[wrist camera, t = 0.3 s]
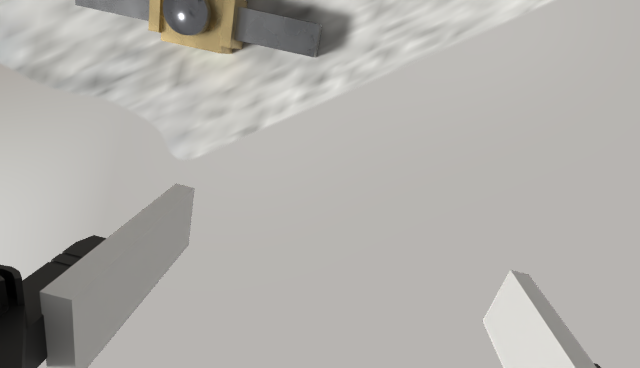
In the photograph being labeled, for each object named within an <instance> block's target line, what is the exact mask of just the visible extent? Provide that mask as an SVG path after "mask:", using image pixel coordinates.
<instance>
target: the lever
mask: <svg viewBox="0 0 640 368" xmlns="http://www.w3.org/2000/svg"><path fill="white" fill-rule="evenodd" d="M163 14H164V17H165V20H166V22H167V23H168V25H169V26H170V27H171V28H172V29H173V30H174V31H175V32H177V33H179V34H182V35H188V36H197V35H200V34H202V33H203V32H204V31H205V30H206V29H207V28H208V26H209V24H210V21H211V10H210V6H209V3H208V1H207V0H164V2H163Z"/></svg>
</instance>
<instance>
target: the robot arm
mask: <svg viewBox="0 0 640 368" xmlns="http://www.w3.org/2000/svg"><path fill="white" fill-rule="evenodd" d="M193 197H194V188H191V187H187V186H183V185H180V184H175V185H174V186H172V187H171V188H170V189H168V190H167V191H166V192H165V193H163V194H162V195H161V196H160V197H158V198H157V199H156V200H155V201H153V202H152V203H151V204H150V205H148V206H147V207H146V208H145V209H143V210H142V211H141V212H139V213H138V214H137V215H136V216H135V217H133V218H132V219H131V220H129V221H128V222H127V223H126V224H124V225H123V226H122V227H121V228H119V229H118V230H117V231H116V232H114V233H113V234H112V235H110V236H109V237H108V238H107V239H106V238H103V237H99V236H95V235H94V236H91V237H88V238H86V239H83V240H80V241H78V242H76V243H74V244H73V245H71V246H70V247H69V248H67V249H66V250H65V251H63V253H62V254H59V255H58V256H56V257H55V258H53V259H52V260H51V262H48V263H46V264H45V265H44V266H43V267H41V268H40V269H38V270H37V271H35V272H34V273H33V274H32V275H30V276H28V277H27V278H26V279H24V280H23V281H22V277H21V274H20V272H19V271H18V270H16V269H15V268H13V267H10V266H4V265H0V368H37V367H38V366H39V365H40V364H41V363H42V362H43V361H44V360H45V359H46V361H47V368H88V366H89V365H90V364H91V363H92V362H93V360H94V359H95V358H96V357H97V356H98V354H99V353H100V352H101V351H102V349H103V348H104V347H105V345H106V344H107V343H108V342H109V341H110V340H111V338H112V337H113V336H114V335H115V334H116V332H117V331H118V330H119V329H120V327H121V326H122V325H123V324H124V323H125V321H126V320H127V319H128V318H129V316H130V315H131V314H132V313H133V312H134V310H135V309H136V308H137V307H138V306H139V304H140V303H141V302H142V301H143V300H144V298H145V297H146V296H147V295H148V294H149V292H150V291H151V290H152V289H153V287H154V286H155V285H156V284H157V283H158V281H159V280H160V279H161V277H162V276H163V275H164V274H165V273H166V272H167V270H168V269H169V268H170V267H171V265H172V264H173V263H174V262H175V261H176V259H177V258H178V257H179V256H180V255H181V253H182V252H183V251H184V250H185V248H186V247H187V246H188V244H189V235H190V225H191V216H192V206H193ZM483 323H484V325H485V328H486V330H487V332H488V334H489V337H490V339H491V341H492V343H493V346H494V348H495V350H496V352H497V355H498V357H499V359H500V361H501V364H502V366H503V368H601V367H600V366H599V365H598V364H595V363H593V362H592V360H591V359H590V358H589V356H588V355H587V354H586V352H585V351H584V350H583V348H582V347H581V346H580V344H579V343H578V341H577V340H576V339H575V337H574V336H573V334H572V333H571V332H570V331H569V329H568V328H567V326H566V325H565V324H564V322H563V321H562V320H561V318H560V317H559V315H558V314H557V313H556V311H555V310H554V309H553V307H552V306H551V305H550V303H549V302H548V300H547V299H546V298H545V296H544V295H543V293H542V292H541V291H540V289H539V288H538V287H537V285H536V284H535V283H534V281H533V280H532V278H531V277H530V276H529V275H528V274H524V273H520V272H516V271H513V270H510V272H509V273H508V275H507V277H506V279H505V281H504V283H503V284H502V286H501V288H500V290H499V292H498V293H497V295H496V297H495V299H494V301H493V303H492V305H491V306H490V308H489V310H488V312H487V313H486V316H485V317H484V319H483Z"/></svg>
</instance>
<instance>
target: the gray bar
mask: <svg viewBox="0 0 640 368" xmlns="http://www.w3.org/2000/svg"><path fill="white" fill-rule="evenodd" d="M207 1H208V3H209V6H210V10H211V21H210V24H209V26H208V28H207V29H206V30H205V31H204V32H203V33H202V34H200V35H197V36H188V35H182V34H179V33H177V32H175V31H174V30H173V29H172V28H171V27H170V26H169V25H168V23H167V22H166V20H165V17H164V14H163V2H164V0H75V3H76V5H79V6H83V7H88V8H92V9H97V10H101V11H106V12H111V13H115V14H120V15H124V16H129V17H133V18H138V19H142V20H147V21H149V30H151V31H155V32H160V33H161V40H162V41H167V42H171V43H176V44H180V45H185V46H189V47H194V48H199V49H203V50H208V51H212V52H217V53H224V54H232V49H233V48H236V49H242V44H243V42H247V43H252V44H256V45H261V46H265V47H270V48H274V49H279V50H283V51H288V52H293V53H297V54H302V55H306V56H311V57H317V52H318V47H319V41H320V36H321V31H322V26H321V25H320V24H316V23H311V22H307V21H302V20H298V19H293V18H289V17H284V16H279V15H275V14H270V13H266V12H261V11H257V10H252V9H248V8H247V3H248V2H247V1H245V0H207Z"/></svg>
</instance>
